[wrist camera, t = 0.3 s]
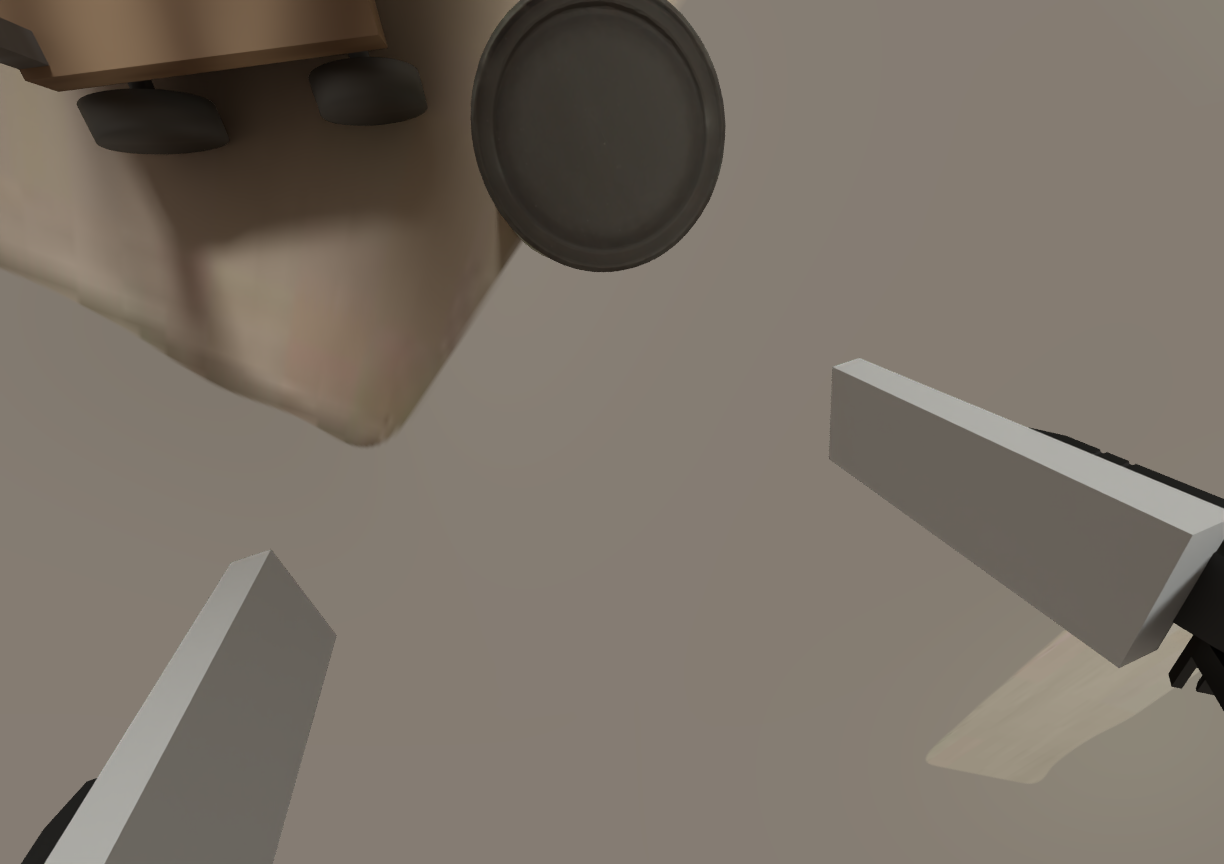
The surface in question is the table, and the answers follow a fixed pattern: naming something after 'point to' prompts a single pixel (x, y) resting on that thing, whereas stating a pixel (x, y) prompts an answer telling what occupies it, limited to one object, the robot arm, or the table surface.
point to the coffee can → (598, 128)
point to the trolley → (201, 61)
